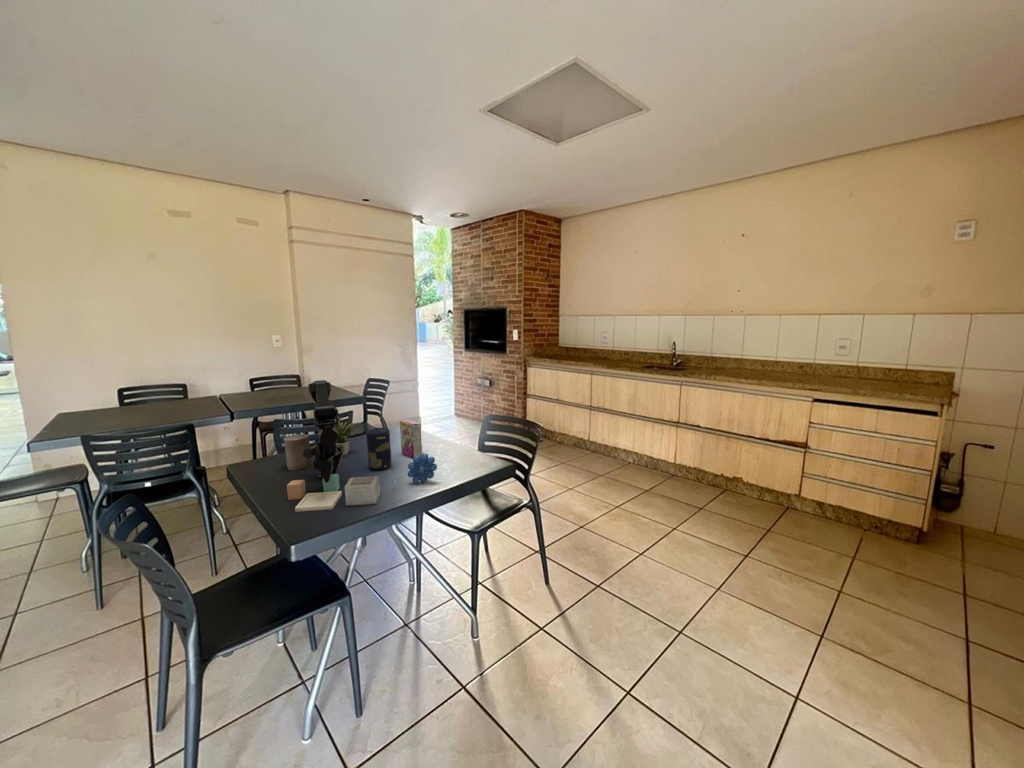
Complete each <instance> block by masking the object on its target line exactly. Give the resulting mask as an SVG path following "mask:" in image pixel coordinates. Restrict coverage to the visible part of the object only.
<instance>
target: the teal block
mask: <svg viewBox="0 0 1024 768" xmlns="http://www.w3.org/2000/svg"><path fill="white" fill-rule="evenodd" d="M322 486H323V492H334V491H339V489H340V476H339V473H337V474H331V476H330V479H329V482H328V483H325V481H324V478H322Z"/></svg>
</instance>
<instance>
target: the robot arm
mask: <svg viewBox="0 0 1024 768" xmlns="http://www.w3.org/2000/svg"><path fill="white" fill-rule="evenodd" d="M331 385H332V383H331V382H329V381H327V380H325V379H323V380H321V379H320V380H315V381H313V382H311V383H308V385H307V387H308V395H310V399H311V400H312V402H313V403H314V408H313V409H312V410H313V419H314V427H316V428H317V431H318V433H317V435H318V441H317V443H316V444H314V445H313V446H310V447H308V448H307V449H304V450H303V457H305V458H306V459H309V458H311V459H312V458H313V457H314V458H315V459H314V460H313V461H312V462H311V463H312V465H311V467H312V469H314V470H316V471H319V472H320V474H319V475H318V476H317V479H323V478H324V481H325V483H328V482H329V479H330V476H331V474H339V471H338V468H339V464H340V462H341V460H342V457H343V456H344V455H343V452H344V447H343V446H342V445H336V442H337V441H338V440H337V438H338V435H337V432H336V430H335V427H336V425H338V423H339V422H340V416H339V415H340V414H339V410H338V408H337V407H336V406H335V405H334V402H333V401H332V400H330V399H329V398H330V396H331V395H330V394H331V392H332V386H331ZM339 452H340V453H339Z"/></svg>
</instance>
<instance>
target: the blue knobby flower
mask: <svg viewBox="0 0 1024 768" xmlns="http://www.w3.org/2000/svg"><path fill="white" fill-rule="evenodd" d="M435 461H436V460H435V457H434V456H429V455H428V453H422V456H421V457H420V456H415V457H414V458H412V462H409V463H408V465H407V469H408V471H407V477H408V478H412V479H411V480H412V483H415V484H416V483H418V482H419V483H421V484H425V483H427V482H428V479H429V480H430V479H432V478H434V476H435V471H437V469H438V464H436V463H435Z"/></svg>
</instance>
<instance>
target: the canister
mask: <svg viewBox="0 0 1024 768" xmlns="http://www.w3.org/2000/svg"><path fill="white" fill-rule="evenodd" d="M390 434H391V433H390V430H389V428H387V427H373V428H370V429H367V431H366V434H365V435H366V448H367V459H368V460H367V461H368V467H369V468H370V469H371V470H375V471H379V470H384V469H387V468H390V467H391V465H392V449H391V438H390V437H391V436H390Z"/></svg>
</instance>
